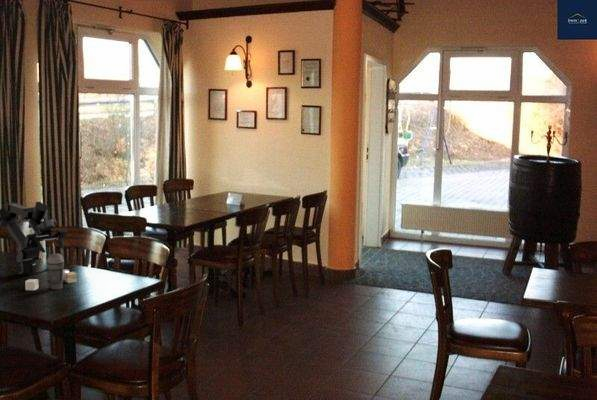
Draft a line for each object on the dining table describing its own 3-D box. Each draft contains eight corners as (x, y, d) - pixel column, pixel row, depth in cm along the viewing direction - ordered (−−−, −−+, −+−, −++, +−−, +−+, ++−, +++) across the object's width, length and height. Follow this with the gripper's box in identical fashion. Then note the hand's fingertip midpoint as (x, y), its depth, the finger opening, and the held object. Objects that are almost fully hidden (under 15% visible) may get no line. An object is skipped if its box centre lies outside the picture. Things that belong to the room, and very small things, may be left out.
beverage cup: (54, 291, 280) (51, 246, 277) (44, 288, 285) (42, 243, 282) (68, 287, 286) (66, 243, 283) (59, 284, 290) (57, 241, 288)
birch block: (64, 281, 296) (64, 273, 295) (73, 280, 299) (72, 271, 298) (68, 283, 293) (68, 274, 292) (76, 281, 296) (76, 273, 295)
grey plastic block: (25, 290, 282) (25, 281, 281) (29, 287, 286) (29, 279, 285) (34, 290, 281) (34, 281, 281) (38, 288, 285) (38, 279, 285)
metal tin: (53, 280, 298) (52, 271, 297) (61, 277, 304) (61, 268, 303) (64, 281, 296) (63, 273, 295) (72, 278, 302) (72, 270, 301)
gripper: (23, 216, 287) (38, 240, 280) (62, 211, 301) (78, 234, 294) (17, 235, 292) (32, 258, 285) (56, 229, 306) (71, 251, 299)
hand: (54, 250), depth 291 cm, fingers open, 9 cm apart
